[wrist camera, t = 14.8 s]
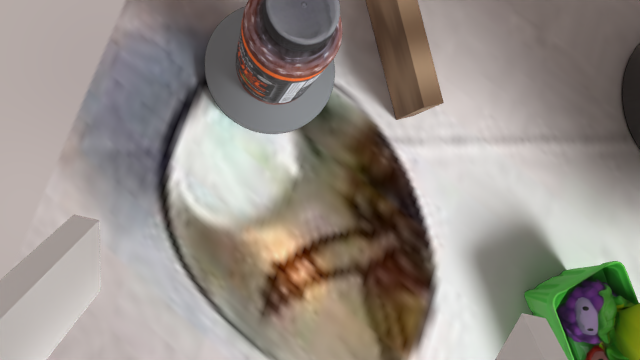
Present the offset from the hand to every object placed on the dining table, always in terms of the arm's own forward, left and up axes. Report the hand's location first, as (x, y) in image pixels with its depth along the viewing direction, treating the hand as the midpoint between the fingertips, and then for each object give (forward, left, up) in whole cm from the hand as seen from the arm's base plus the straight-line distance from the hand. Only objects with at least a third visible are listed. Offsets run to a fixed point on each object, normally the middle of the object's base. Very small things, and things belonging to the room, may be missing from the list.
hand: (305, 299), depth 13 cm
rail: (-18, -7, -20) cm, 28 cm away
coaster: (-9, -10, -20) cm, 24 cm away
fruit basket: (-19, +23, -20) cm, 36 cm away
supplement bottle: (-9, -10, -19) cm, 24 cm away
